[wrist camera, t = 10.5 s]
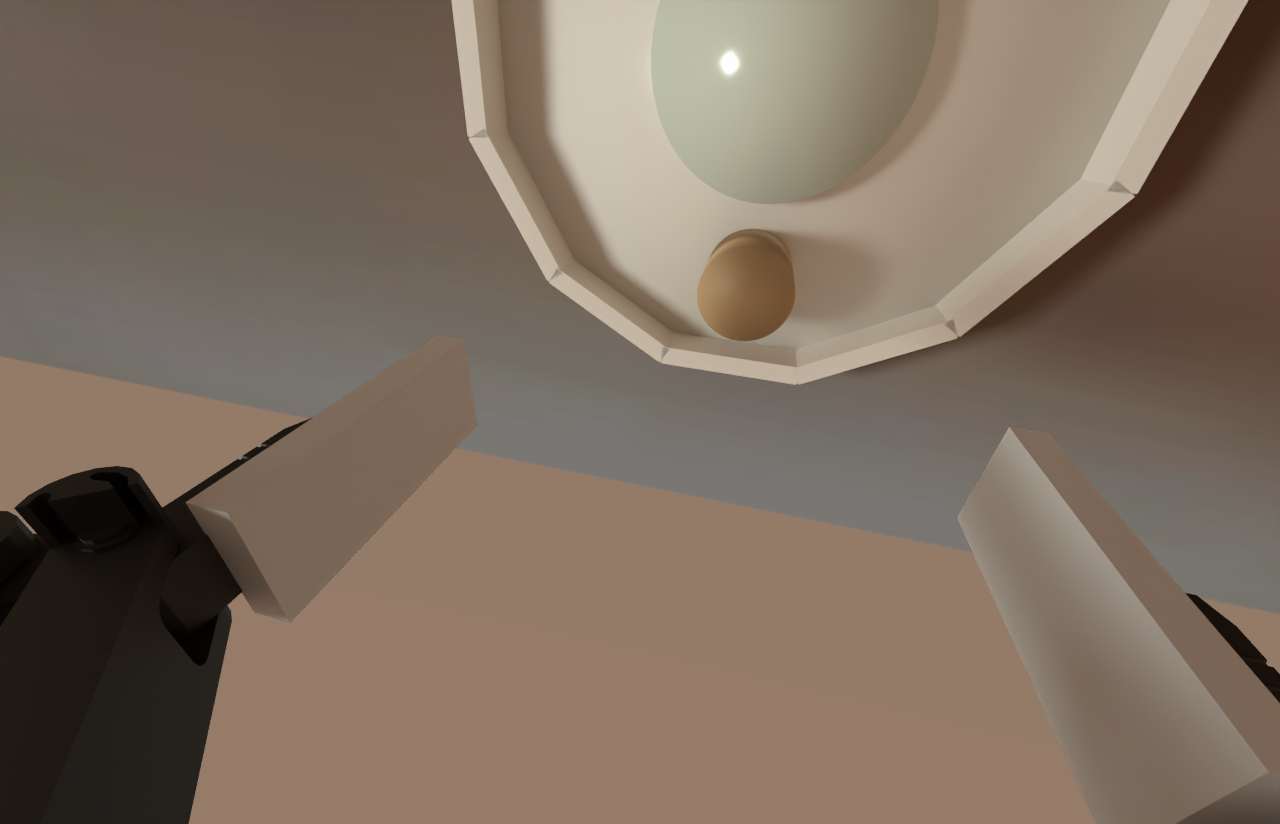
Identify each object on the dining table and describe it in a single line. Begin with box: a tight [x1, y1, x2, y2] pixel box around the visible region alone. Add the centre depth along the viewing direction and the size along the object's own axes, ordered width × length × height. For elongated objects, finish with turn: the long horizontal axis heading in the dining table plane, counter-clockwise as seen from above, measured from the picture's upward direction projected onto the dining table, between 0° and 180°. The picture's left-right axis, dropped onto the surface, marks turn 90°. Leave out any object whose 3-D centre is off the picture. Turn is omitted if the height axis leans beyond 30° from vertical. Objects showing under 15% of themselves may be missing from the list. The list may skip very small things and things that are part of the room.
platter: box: [452, 0, 1248, 385], centre depth 20 cm, size 28×28×3 cm
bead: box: [697, 229, 795, 341], centre depth 23 cm, size 4×4×4 cm
